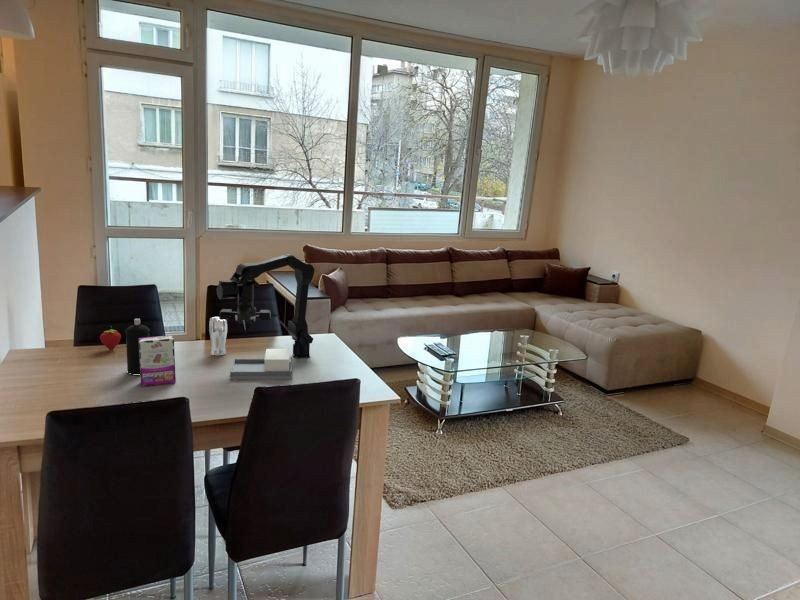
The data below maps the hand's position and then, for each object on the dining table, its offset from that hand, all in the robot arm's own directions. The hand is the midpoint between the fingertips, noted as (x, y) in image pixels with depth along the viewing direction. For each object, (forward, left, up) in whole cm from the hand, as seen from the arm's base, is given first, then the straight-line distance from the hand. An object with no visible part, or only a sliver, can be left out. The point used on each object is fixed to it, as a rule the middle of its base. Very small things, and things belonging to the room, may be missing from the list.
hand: (245, 336), depth 207 cm
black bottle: (+37, +7, -12) cm, 40 cm away
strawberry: (+54, -18, -12) cm, 58 cm away
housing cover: (-12, +8, -11) cm, 18 cm away
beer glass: (+12, -14, -12) cm, 22 cm away
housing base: (-7, +7, -12) cm, 16 cm away
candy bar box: (+28, +18, -12) cm, 35 cm away
